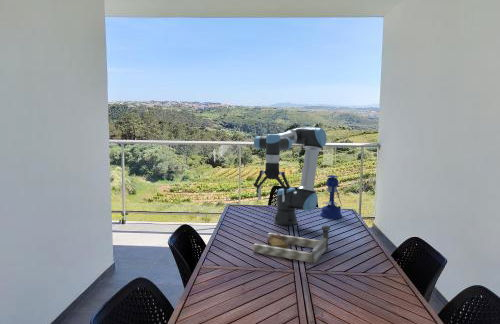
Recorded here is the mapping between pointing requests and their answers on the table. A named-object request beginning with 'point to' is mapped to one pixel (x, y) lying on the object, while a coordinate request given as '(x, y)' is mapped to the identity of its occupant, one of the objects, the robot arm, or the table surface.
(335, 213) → the lantern
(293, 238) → the bay
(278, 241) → the stone
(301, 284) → the table surface
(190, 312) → the table surface
